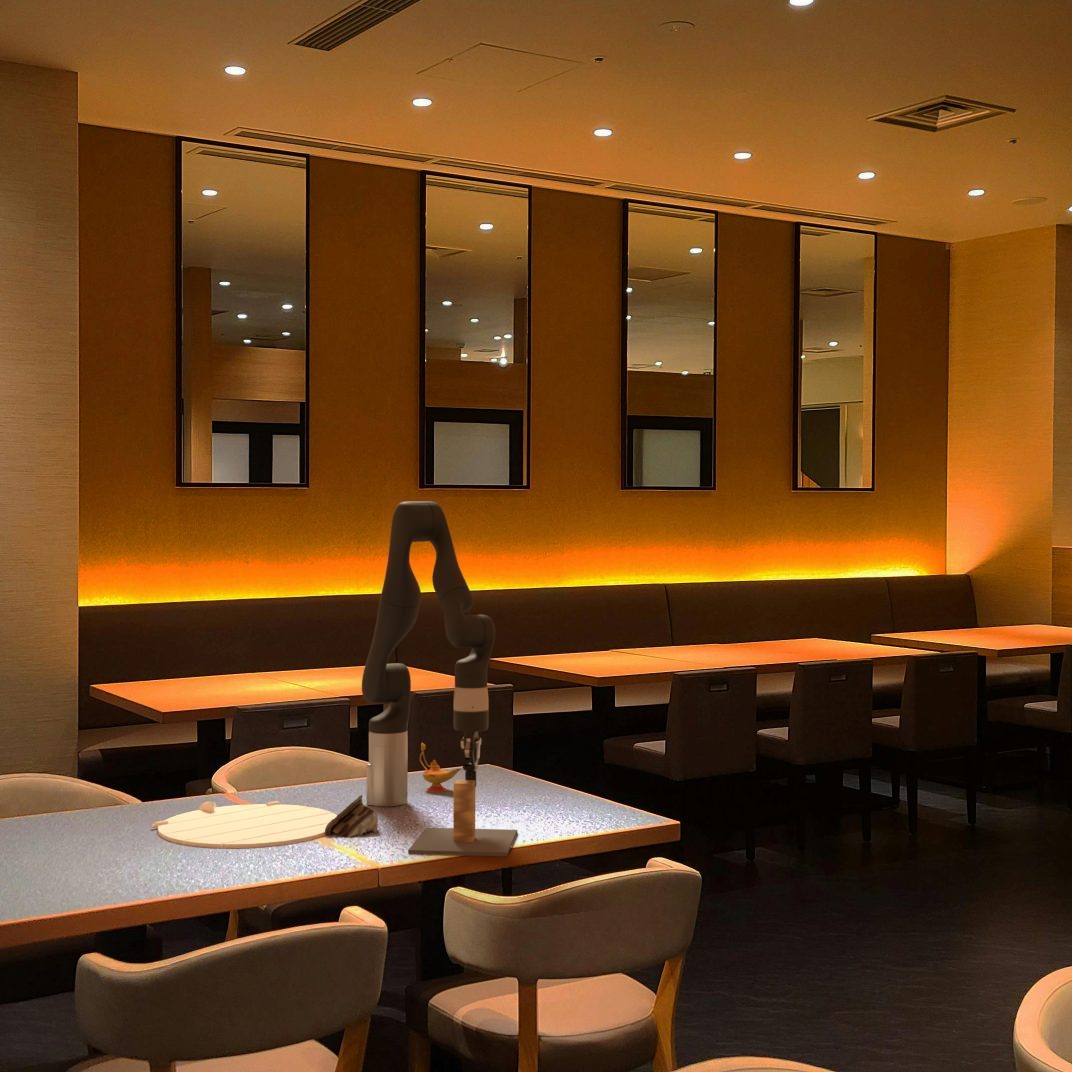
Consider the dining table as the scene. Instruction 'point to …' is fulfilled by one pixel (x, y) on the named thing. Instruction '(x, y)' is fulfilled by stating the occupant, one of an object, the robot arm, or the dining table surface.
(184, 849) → the dining table surface
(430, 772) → the magic lamp
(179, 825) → the lazy susan
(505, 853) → the charcoal mat
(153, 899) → the dining table surface
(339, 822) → the chocolate cake
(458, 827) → the oak pillar
